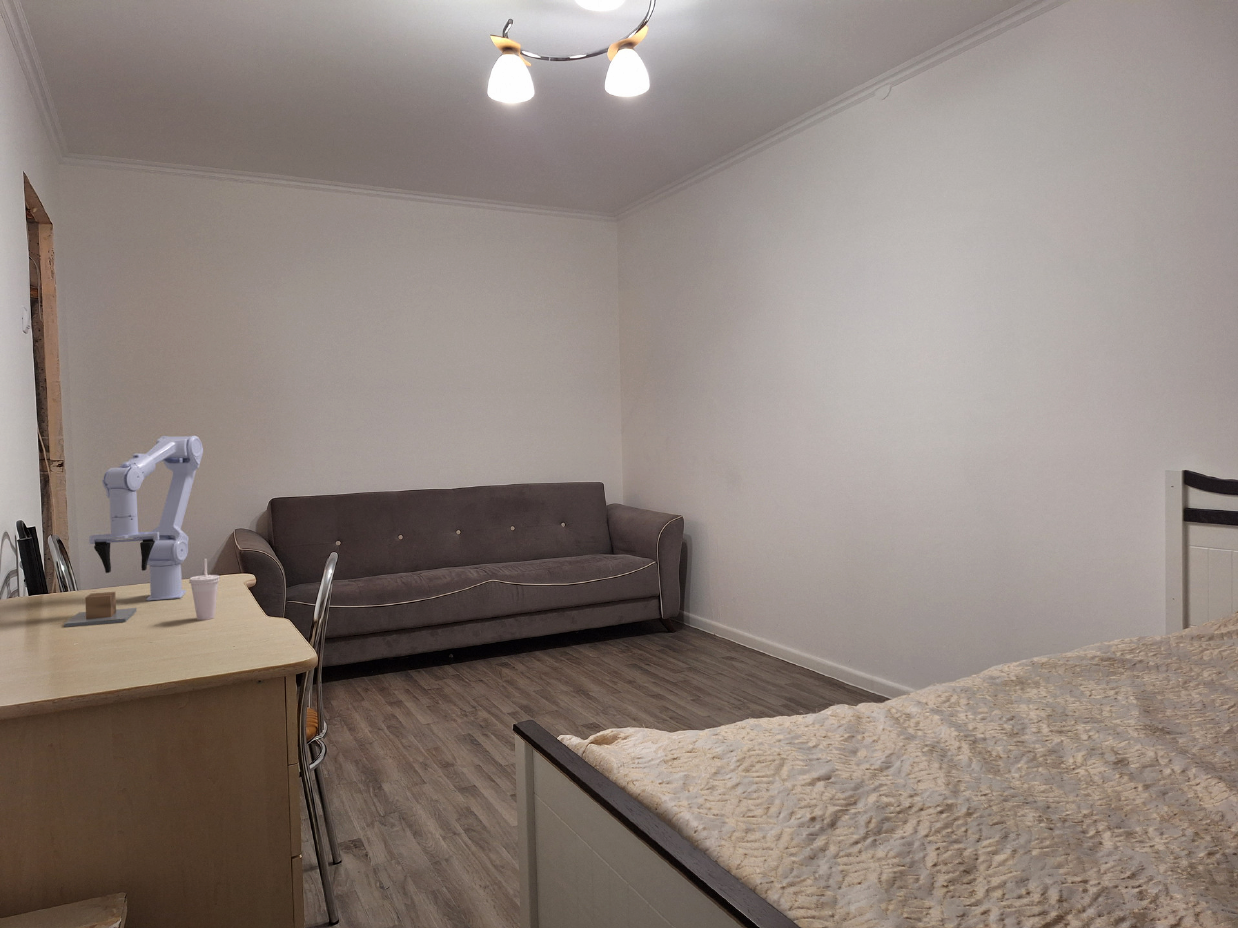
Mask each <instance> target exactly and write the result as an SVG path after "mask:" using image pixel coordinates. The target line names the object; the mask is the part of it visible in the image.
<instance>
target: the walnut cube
mask: <svg viewBox="0 0 1238 928" xmlns="http://www.w3.org/2000/svg"><path fill="white" fill-rule="evenodd" d="M84 598H85V599H84V600H85V612H86V619H91V618H104V617H112V616H113V615H114V614H115V613H116V609H117V605H116V604H117V602H116V601H117V598H116V591H110V592H109V591H108V592H107V591H106V592H96V593H95V592H93V593H92V592H91V593H90V594H88V595H87V596H85V597H84Z"/></svg>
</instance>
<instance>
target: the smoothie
mask: <svg viewBox="0 0 1238 928" xmlns="http://www.w3.org/2000/svg"><path fill="white" fill-rule="evenodd" d="M203 564H204V566H203V568H204V575H195V576H192V577H190V578H189V582H188V583H189V584H190V586H191V593H192V598H193V604H194V609H195V614H196V620H199V621H205V620H206V621H207V620H212V619H214V618H215V617H216V608H217V607H216V605H217V596H218V587H219V581H220V575H218V574H208V560H207V558H203Z"/></svg>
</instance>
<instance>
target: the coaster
mask: <svg viewBox="0 0 1238 928" xmlns="http://www.w3.org/2000/svg"><path fill="white" fill-rule="evenodd" d="M136 612H137V607H135V608H134V607H132V608H118V609H117V608H116V613H115V614H114V615H113V616H112V617H104V618H91V619H86V611H80V612H78V613H76V614H75V615H74V616H72V617H71V618H70V619H68V620H67V621H66V622H64V624H63V626H64V628H68V627H79V626H80V627H81V626H93V625H105V624H118V623H126V622H127V621H128V620H129V619H130V618H131V617H132V616H133V615H134V614H135V613H136Z"/></svg>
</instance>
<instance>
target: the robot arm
mask: <svg viewBox="0 0 1238 928" xmlns="http://www.w3.org/2000/svg"><path fill="white" fill-rule="evenodd" d="M203 455H204V448H203V443H202V441H201V438H199V437H198V436H197V435H190V436H181V435H180V436H179V435H178V436H167V435H162V436H161V437H159V438H158V439H156V443H155V445H154V446H153V447H152V448H151V449H149V450H148V451H147V452H146V453H140V452H139V453H136V452H135V453H134V454H133V455H132V457H131V458H129V459H128V460H127V461H123V462H122V463H121V464H120V466H118V467H111V468H109V469H107V470H106V471H105V472H104V475H103V479H102V481H101V483H102V486H103V488H104V489H105V491H106V497H107V498H108V499H109V501H108V502H109V514H110V515H109V518H110V519H109V520H110V521H109V522H110V533H107V534H93V535H89V536H88V537H89V538H88V539H89V545H93V548H94V551H96V553H97V554H98V557H99V558H100V560H101V563H102V565H103V567H104V571H105V574H108V573H111V572H112V564H111V543H113V544H114V543H124V542H125V543H126V542H127V543H128V542H130V543H131V542H139V546H140V556H141V564H140V565H141V567H140V568H141V571H142V572H143V571H146V570H147V568H148V566H149V586H150V587H149V589H150V590H149V591H150V595H149V596H148V597H147V598H146V601H158V600H170V599H171V600H172V599H181V598H182V597H183V596H184V595H185V594H186V592H187V590H186V589H183V583H182V581H183V580H182V579H183V577H182V566H181V564H182V563H184V560H186V558H187V556H188V553H189V540H190V539H189V536H188V535H187V533H185V532H184V531H183V530H182V527H183V526H182V525H183V523H184V517H185V514H186V511H187V507H188V503H189V500H190V495H191V493H192V492H191V491H192V489H193V488H192V487H193V485H194V484H193V483H194V481H195V477H196V473H197V470H198V469H199V468H200V465H201V460H202V458H203ZM161 462H163V464H164V465H165V467H166V469H167V470H169V471H172V476H171V481H170V484H169V489H168V491H167V494H166V498H165V503H164V506H163V509H162V513H161V516H160V517H161V518H160V521H159V525H158V526H156V527H155V528H154V529H152V530H151V531H141V532H140V531H139V522H138V521H139V518H138V517H139V516H138V495H137V494H138V493H137V491H138V490H140V488H141V486H142V483H143V481H144V480H145V478H147V477H149V475H151V474H152V473H153V472H155V470H156V466H157V464H159V463H161Z"/></svg>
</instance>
